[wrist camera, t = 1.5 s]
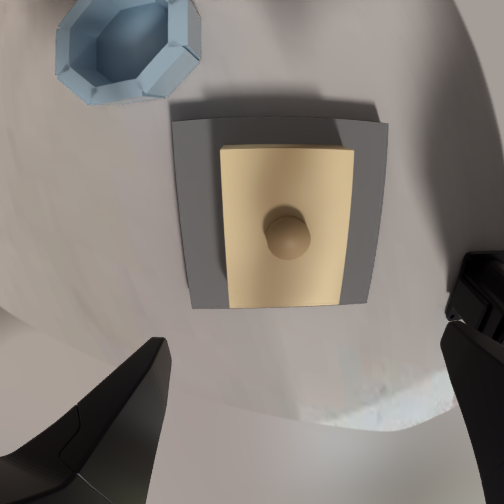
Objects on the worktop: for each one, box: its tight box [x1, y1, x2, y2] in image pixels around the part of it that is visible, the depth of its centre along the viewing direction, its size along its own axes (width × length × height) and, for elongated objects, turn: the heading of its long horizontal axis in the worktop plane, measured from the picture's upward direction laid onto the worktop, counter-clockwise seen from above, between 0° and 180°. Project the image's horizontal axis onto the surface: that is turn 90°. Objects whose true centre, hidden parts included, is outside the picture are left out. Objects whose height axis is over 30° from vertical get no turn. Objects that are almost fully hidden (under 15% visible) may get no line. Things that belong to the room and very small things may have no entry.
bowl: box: [55, 0, 201, 106], centre depth 12 cm, size 7×7×4 cm
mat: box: [172, 116, 388, 309], centre depth 18 cm, size 12×12×1 cm
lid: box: [220, 144, 354, 308], centre depth 17 cm, size 6×9×3 cm
